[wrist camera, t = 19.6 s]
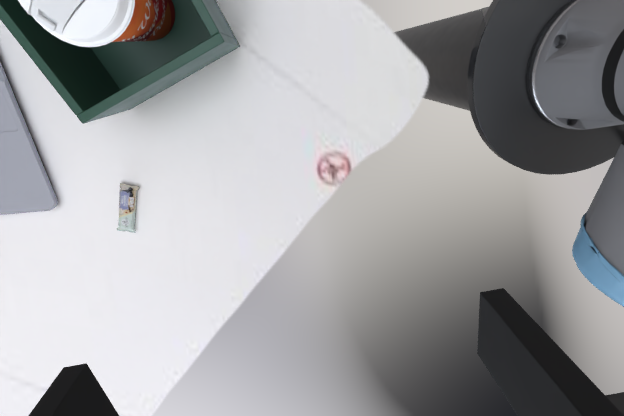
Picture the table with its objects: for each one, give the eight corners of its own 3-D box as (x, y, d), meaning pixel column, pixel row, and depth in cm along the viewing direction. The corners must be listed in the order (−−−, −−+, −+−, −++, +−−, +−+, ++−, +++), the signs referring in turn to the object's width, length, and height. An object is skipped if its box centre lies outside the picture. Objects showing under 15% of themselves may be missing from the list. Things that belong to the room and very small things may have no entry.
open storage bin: (240, 46, 37) (224, 41, 28) (130, 109, 38) (82, 124, 30) (156, -111, 31) (103, -180, 22) (32, -28, 33) (-64, -62, 24)
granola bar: (137, 231, 44) (133, 235, 44) (118, 228, 44) (115, 231, 43) (140, 185, 42) (137, 188, 41) (121, 181, 42) (117, 183, 41)
